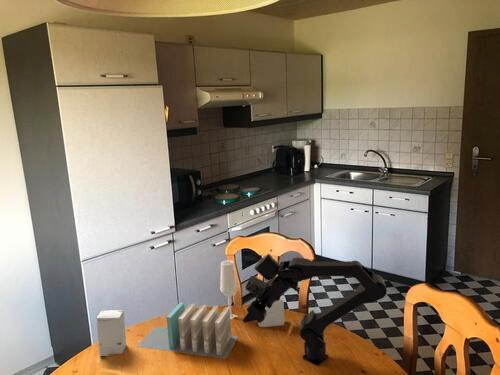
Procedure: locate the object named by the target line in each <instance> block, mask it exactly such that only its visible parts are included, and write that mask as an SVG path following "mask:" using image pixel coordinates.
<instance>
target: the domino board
mask: <svg viewBox="0 0 500 375" xmlns="http://www.w3.org/2000/svg"><path fill="white" fill-rule="evenodd" d="M231 335H232V338H231V340H230V341H229V343H228V345H227V346H226V348H225V350H224V352H223V353H222V355H217V347H216V343H215V345H214V347H213V348H212V350H211V351H210V353H205V350H204V342H203V344H202V345H201V347H200V348H199V350H198V351H197V352H194V351H193V348H192V342H191V343H190V344H189V346H188V347H187V348H186V350H181V345H180V341H179V342H178V344H177V345H176V346H175V347H174V349H171V348H169V339H168V329H167V326H166V327H165V326H156V325H155V327H153V329H151V331H150V332H149V333H148V334H147V335H146V336H145V337H144V338H143V339H142V340H141V341H140V342H139V343H138V345H137V346H136V347H138V348H145V349H153V350H159V351H166V352H174V353H180V354H186V355H187V354H188V355H194V356H195V355H197V356H202V357H203V356H204V357H211V358H217V359H227V358H228V355H229V354H230V353H231V351H232V349H233V347H234V345H235V343H236V342H237V340H238V338H239V335H233V334H231Z"/></svg>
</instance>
